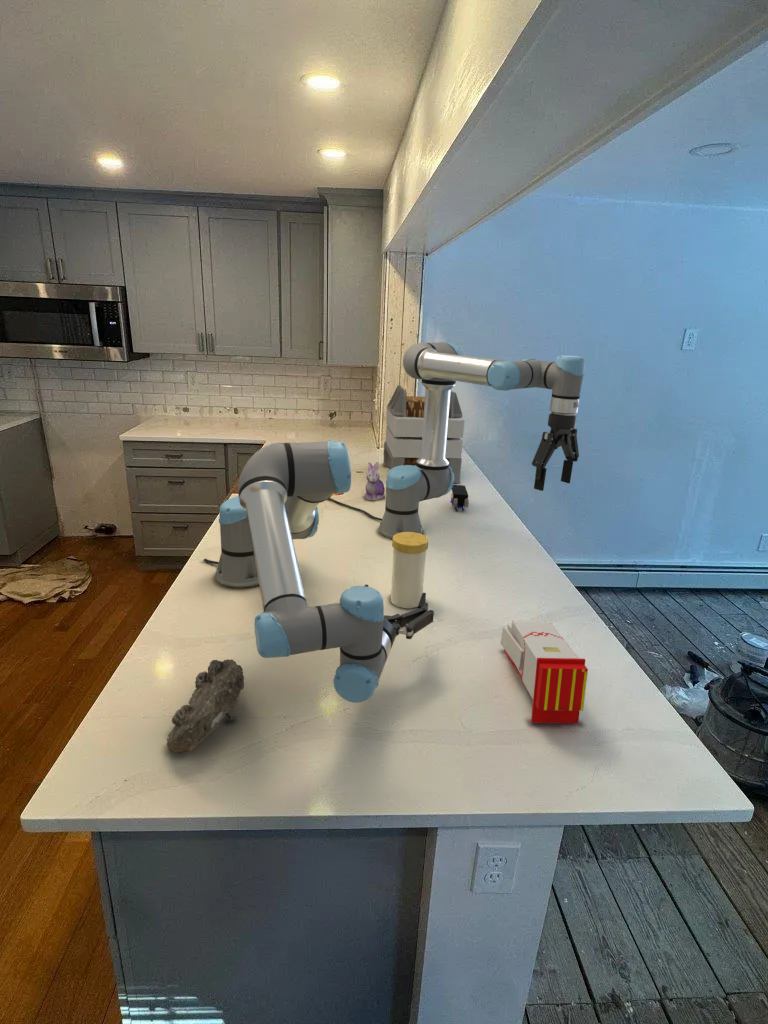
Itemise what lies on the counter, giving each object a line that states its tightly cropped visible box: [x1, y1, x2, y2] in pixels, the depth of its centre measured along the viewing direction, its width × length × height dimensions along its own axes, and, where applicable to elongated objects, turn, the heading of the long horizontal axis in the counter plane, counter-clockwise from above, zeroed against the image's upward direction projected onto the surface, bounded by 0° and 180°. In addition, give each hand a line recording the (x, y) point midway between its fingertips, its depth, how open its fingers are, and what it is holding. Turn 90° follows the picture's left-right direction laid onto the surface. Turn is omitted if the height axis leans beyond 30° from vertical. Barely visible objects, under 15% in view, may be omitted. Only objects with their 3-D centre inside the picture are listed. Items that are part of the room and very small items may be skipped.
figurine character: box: [449, 484, 470, 512], centre depth 229 cm, size 7×8×15 cm
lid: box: [391, 532, 429, 554], centre depth 149 cm, size 9×10×2 cm
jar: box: [390, 548, 427, 609], centre depth 152 cm, size 9×9×18 cm
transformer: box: [383, 384, 465, 484], centre depth 268 cm, size 34×33×41 cm
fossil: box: [166, 658, 245, 754], centre depth 106 cm, size 22×10×15 cm
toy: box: [500, 620, 589, 724], centre depth 121 cm, size 12×13×30 cm
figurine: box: [364, 461, 386, 501], centre depth 234 cm, size 9×10×15 cm
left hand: (395, 593), depth 132 cm, fingers open, 13 cm apart
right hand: (552, 485), depth 166 cm, fingers open, 13 cm apart
